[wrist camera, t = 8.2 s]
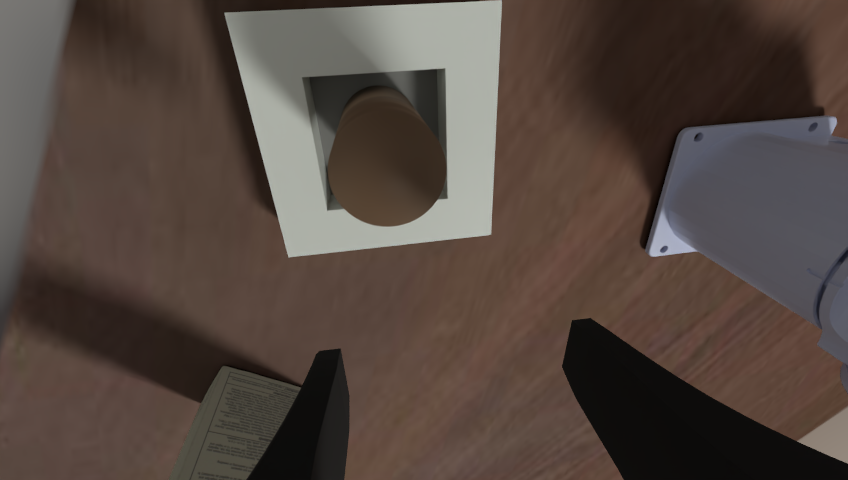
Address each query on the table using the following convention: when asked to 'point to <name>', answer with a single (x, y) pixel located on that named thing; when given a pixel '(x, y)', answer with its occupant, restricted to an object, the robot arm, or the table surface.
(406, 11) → the socket block
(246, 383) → the skincare box
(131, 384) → the table surface
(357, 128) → the pin
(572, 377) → the robot arm
